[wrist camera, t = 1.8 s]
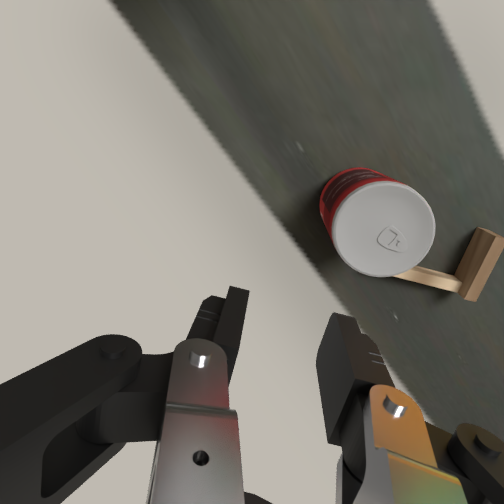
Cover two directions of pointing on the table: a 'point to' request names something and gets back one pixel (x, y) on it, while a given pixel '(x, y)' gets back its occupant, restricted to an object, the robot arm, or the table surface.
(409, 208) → the canned food
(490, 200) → the table surface
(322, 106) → the table surface
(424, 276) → the bar
